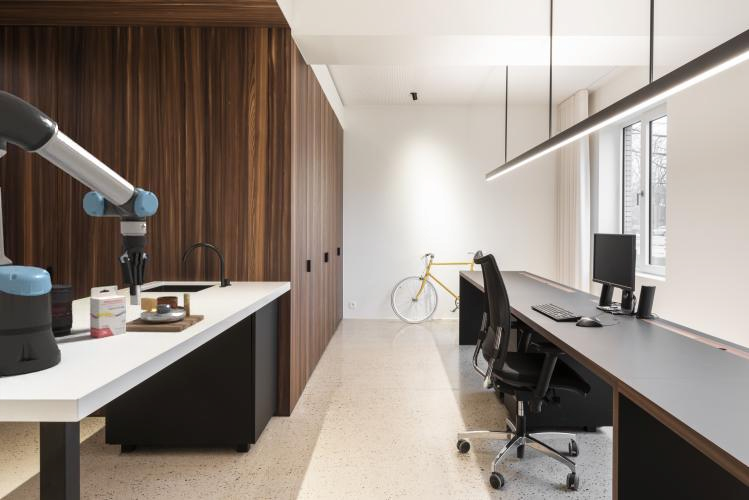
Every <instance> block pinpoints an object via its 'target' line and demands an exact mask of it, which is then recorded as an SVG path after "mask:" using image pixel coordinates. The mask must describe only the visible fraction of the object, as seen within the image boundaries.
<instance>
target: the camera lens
mask: <svg viewBox="0 0 749 500" xmlns="http://www.w3.org/2000/svg"><path fill="white" fill-rule="evenodd" d="M51 285H52V288H51V327H52V333H53V335H54V337H55V338H58V337H64V336H65V337H66V336H68V335H70V334H71V333H72V331H71V330H72V329H73V322H74V321H73V320H74V318H73V302H74V295H73V294H74V291H73V286H72V285H69V284H67V285H66V284H51Z"/></svg>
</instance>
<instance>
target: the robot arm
mask: <svg viewBox="0 0 749 500" xmlns="http://www.w3.org/2000/svg"><path fill="white" fill-rule="evenodd" d="M7 143H10V144H13V145H16V146H18V147H20V148H21V149H23V150H24V151H25V152H28V153H37V154H39V156H41V157H42V158H44V159H46V160H47V161H49V162H50V163H52V164H53V165H55V166H56V167H58V168H59V169H61V170H62V171H64V172H65V173H67V174H69V175H70V176H71V177H72V178H74V179H76V180H77V181H79V182H80V183H82V184H83V185H84V186H86V187H88V188H90V190H92V191H89V192H87V193H86V194H85V196H84V198H83V200H82V201H83V203H82V207H83V210H84V211H85V213H86V214H87V215H89V216H91V217H98V218H99V217H119V218H120V234H122V235H121V236H120V245H121V247H124V250H123V255H121V256H118V262H119V264H120V267H121V268H120V269H121V273H122V277H123V278H122V279H123V283H124V285H125V286H128V287H129V298H130V299H129V301H130V302H129V303H130V304H129V305H130V306H139V305H140V306H141V292H142V291H141V289H142V288H141V287H142V286H144V285H145V282H146V277H147V269H148V262H149V261H148V260H149V258H150V254H149V253H145V248H144V247H146V246H147V242H148V241H147V235H146V234H147V217H151V216H153V215H155V213H156V212H157V210H158V207H159V201H158V198H157V196H156V195H155V194H154V193H153V192H151V191H146V190H144V189H143V188H140V187H135V186H134V185H132V184H131V183H130V182H128V181H127V180H126V179H125V178H123V177H122V176H121V175H119V174H118V173H117V172H115V171H114V170H112V169H111V168H110V167H108V166H107V165H106V164H105V163H103V162H102V161H101V160H99V159H98V158H97V157H96V156H94V155H92V154H91V153H90V152H89V151H88V150H86V149H84V148H83V147H82V146H80V145H79V144H78V143H76V141H74V140H73V139H71V138H70V137H69V136H67V135H66V134H65V133H63V132H62V131H61V130H59V129H58V123H57V122H56V121H55V120H53V119H52V118H51V117H49V116H48V115H47V114H45V113H44V112H43V111H41V110H39V109H38V108H37V107H35V106H33V105H32V104H30V103H29V102H27V101H25V100H24V99H23V98H20V97H18V96H16V95H14V94H12V93H9V92H7V91H4V90H0V159H1V158H2V157H4V156H5V155H6V154H7ZM1 191H2V190H1V188H0V376H11V375H14V376H15V375H21V374H27V373H33V372H37V371H42V370H45V369H48V368H52V367H53V366H54V367H55V366H56V365H58V364H60V363H61V362H62V352H61V349H60V348H59V346H58V343H57V340H56V337H54V335H53V333H52V327H51V288H52V285H53V284H52V281H51V275H50V273H49V271H47V270H46V269H43V268H41V267H35V266H24V265H13V261H12V260H11V259H9V258H8V257H7V256H6V255H5V250H4V249H5V248H4V233H3V232H4V229H3V212H2V209H3V208H2V192H1Z"/></svg>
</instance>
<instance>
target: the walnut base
mask: <svg viewBox="0 0 749 500" xmlns="http://www.w3.org/2000/svg"><path fill="white" fill-rule="evenodd" d="M190 296H191V295H190V293H189V292H188V293H187V292H186V293H183V307H184V310H185V311H186V318H184V319H181V320H177V321H170V322H143V321H141V317H138V318H135V319H133V320H131V321H128V322H126V332H173V333H174V332H175V333H176V332H179V333H180V332H182V331H184V330H187V329H188V328H190V327H192V326H195V325H196V324H197V323H199V322H201V321H203V320H205V314H191V305H190V304H191V301H190V300H191V299H190Z"/></svg>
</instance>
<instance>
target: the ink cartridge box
mask: <svg viewBox="0 0 749 500" xmlns="http://www.w3.org/2000/svg"><path fill="white" fill-rule="evenodd" d="M104 290H105V292H103V291H104ZM106 291H107V292H106ZM89 299H90V300H89V312H90V313H89V319H90V320H89V321H90V322H89V323H90V325H89V326H90V327H89V329H90V331H89V333H90V334H89V335H90V337H94V338H98V339H101V338H107V337H111V336H112V337H113V336H117V335H122V334H123V335H124V334H126V333H127V331H126V323H127V296H126V295H118V285H109V286H99V287H92V288H91V289H90V297H89Z"/></svg>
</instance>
